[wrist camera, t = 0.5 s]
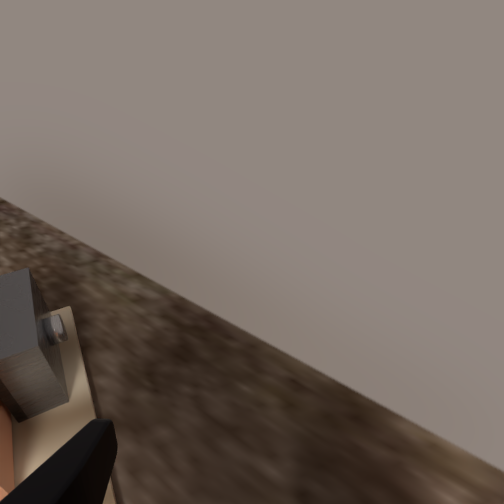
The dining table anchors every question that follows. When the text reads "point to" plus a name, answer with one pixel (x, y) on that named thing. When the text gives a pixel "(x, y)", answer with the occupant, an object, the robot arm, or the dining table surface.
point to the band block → (29, 349)
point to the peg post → (6, 452)
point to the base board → (57, 413)
